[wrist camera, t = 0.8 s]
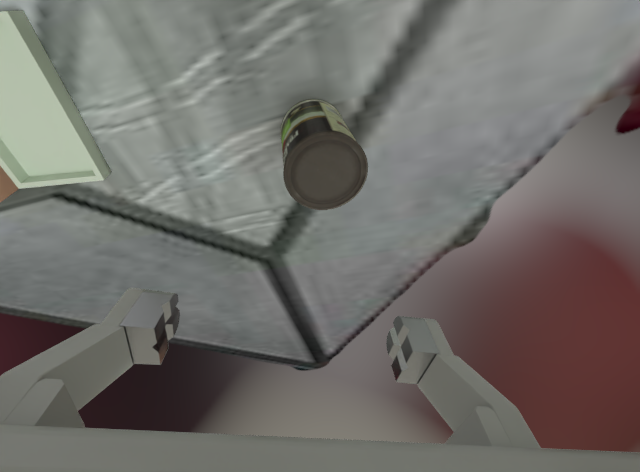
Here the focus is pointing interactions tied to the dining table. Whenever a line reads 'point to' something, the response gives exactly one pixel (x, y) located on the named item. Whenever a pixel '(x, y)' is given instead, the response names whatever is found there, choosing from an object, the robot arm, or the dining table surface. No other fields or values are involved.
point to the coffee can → (321, 156)
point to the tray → (40, 115)
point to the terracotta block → (6, 185)
